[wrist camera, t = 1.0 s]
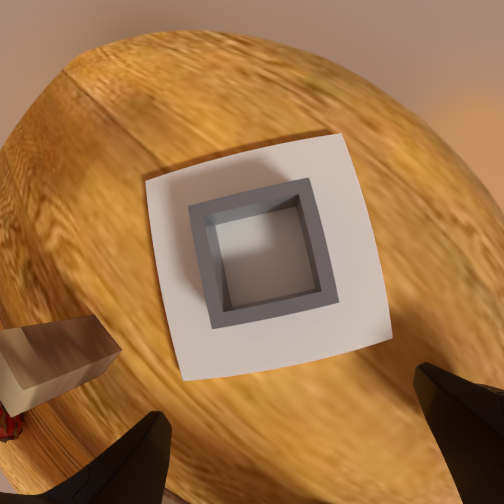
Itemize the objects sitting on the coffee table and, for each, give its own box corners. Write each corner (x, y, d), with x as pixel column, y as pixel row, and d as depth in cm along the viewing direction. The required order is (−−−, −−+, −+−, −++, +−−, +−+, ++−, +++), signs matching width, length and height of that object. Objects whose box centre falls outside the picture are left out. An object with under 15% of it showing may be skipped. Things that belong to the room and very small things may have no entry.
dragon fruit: (10, 415, 26) (33, 390, 28) (16, 456, 20) (39, 436, 22) (-27, 398, 20) (-11, 368, 22) (-25, 440, 14) (-11, 418, 16)
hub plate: (388, 335, 21) (410, 348, 16) (186, 377, 22) (168, 396, 18) (339, 138, 23) (349, 112, 18) (150, 184, 24) (126, 167, 20)
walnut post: (122, 350, 23) (22, 390, 10) (101, 375, 23) (11, 417, 10) (94, 314, 24) (-9, 331, 11) (75, 341, 24) (-18, 365, 11)
